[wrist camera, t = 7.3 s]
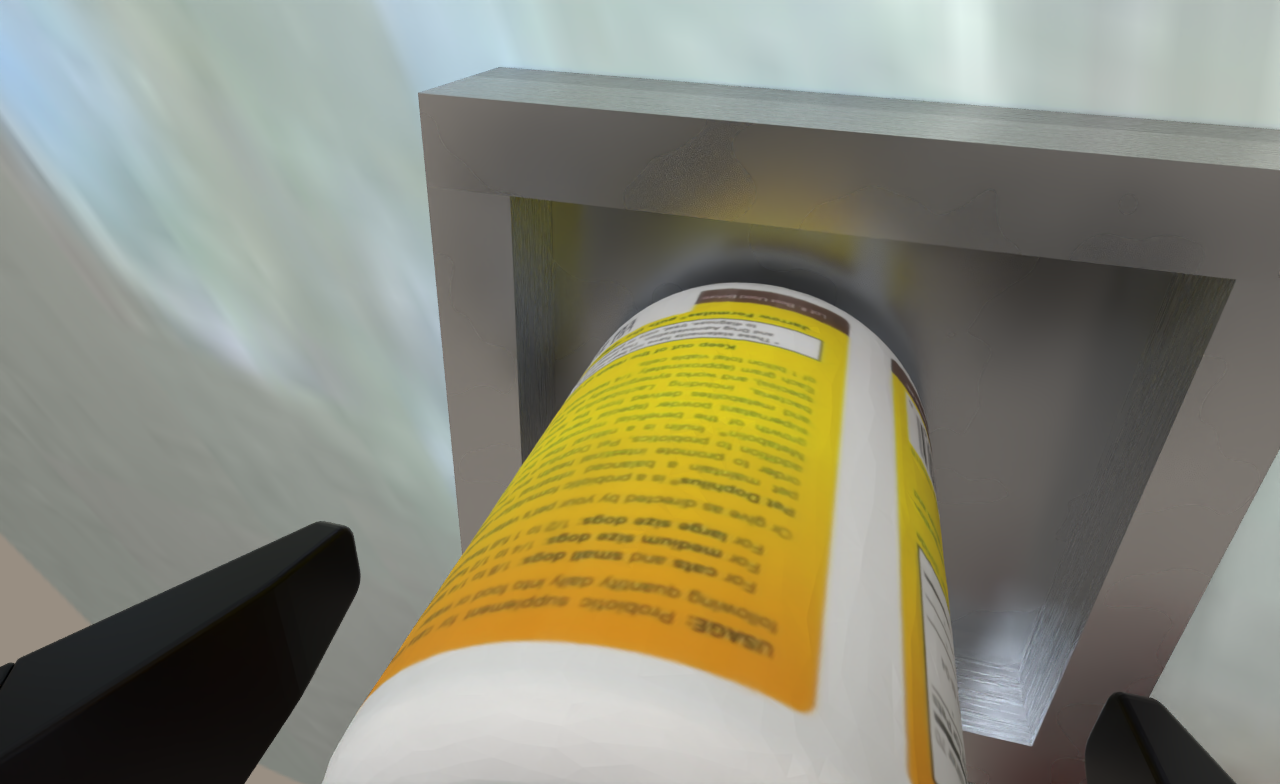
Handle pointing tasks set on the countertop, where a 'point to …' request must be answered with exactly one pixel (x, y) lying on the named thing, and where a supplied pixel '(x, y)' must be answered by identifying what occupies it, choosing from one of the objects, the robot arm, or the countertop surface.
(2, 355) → the countertop surface
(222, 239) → the countertop surface
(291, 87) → the countertop surface
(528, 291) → the square metal tray
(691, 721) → the supplement bottle
